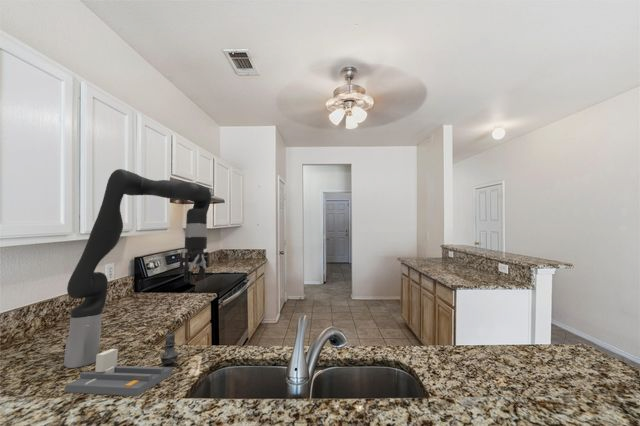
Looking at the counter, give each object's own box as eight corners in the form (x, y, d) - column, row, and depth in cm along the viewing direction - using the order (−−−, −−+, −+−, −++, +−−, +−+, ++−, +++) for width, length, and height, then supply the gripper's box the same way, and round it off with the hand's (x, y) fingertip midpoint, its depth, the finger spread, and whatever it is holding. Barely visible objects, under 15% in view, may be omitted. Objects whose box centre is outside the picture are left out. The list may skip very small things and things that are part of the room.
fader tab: (93, 378, 83) (95, 354, 84) (109, 371, 88) (110, 348, 89) (102, 378, 82) (104, 354, 83) (117, 371, 87) (118, 349, 88)
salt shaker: (170, 369, 92) (171, 332, 94) (155, 369, 93) (157, 332, 95) (182, 363, 98) (183, 328, 100) (167, 362, 99) (169, 328, 101)
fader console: (65, 392, 79) (66, 379, 79) (109, 371, 93) (110, 360, 93) (137, 396, 75) (138, 382, 76) (172, 373, 89) (172, 362, 89)
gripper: (198, 237, 109) (196, 279, 106) (174, 235, 95) (171, 283, 92) (215, 237, 108) (214, 278, 105) (193, 234, 94) (192, 282, 91)
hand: (194, 280), depth 99 cm, fingers open, 8 cm apart
